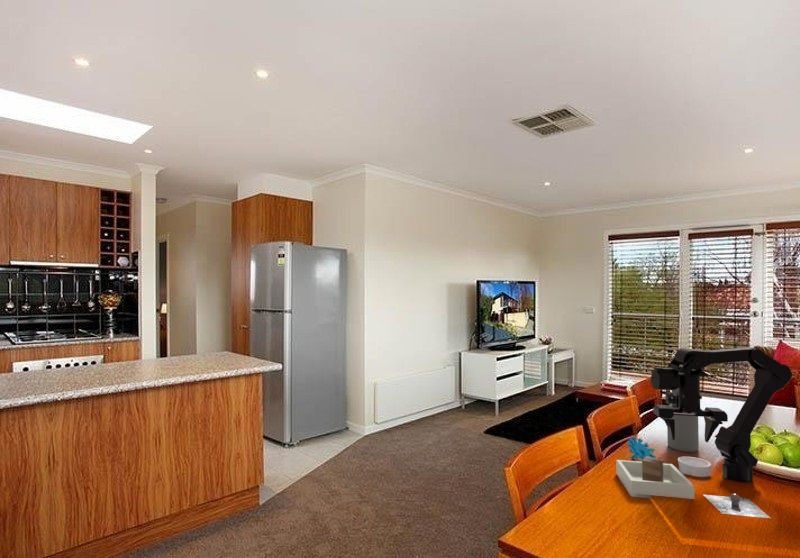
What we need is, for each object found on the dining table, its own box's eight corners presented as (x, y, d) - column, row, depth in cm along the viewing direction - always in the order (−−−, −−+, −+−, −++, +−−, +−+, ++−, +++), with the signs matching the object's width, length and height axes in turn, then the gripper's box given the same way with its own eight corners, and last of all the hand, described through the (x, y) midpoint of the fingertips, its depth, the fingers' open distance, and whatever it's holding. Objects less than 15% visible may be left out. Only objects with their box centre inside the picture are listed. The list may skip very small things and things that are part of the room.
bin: (672, 478, 139) (672, 464, 139) (694, 502, 123) (694, 486, 123) (616, 474, 142) (616, 459, 142) (631, 496, 127) (631, 480, 127)
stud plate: (747, 502, 124) (747, 487, 124) (771, 522, 113) (771, 505, 113) (703, 498, 126) (702, 483, 126) (722, 517, 115) (721, 501, 115)
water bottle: (668, 450, 164) (667, 373, 164) (664, 442, 173) (663, 369, 173) (701, 454, 160) (700, 375, 160) (695, 445, 169) (694, 371, 169)
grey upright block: (646, 479, 136) (646, 456, 136) (663, 483, 133) (663, 459, 133) (642, 484, 133) (642, 460, 133) (659, 488, 130) (659, 464, 130)
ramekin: (700, 483, 136) (700, 468, 136) (671, 472, 144) (671, 458, 144) (717, 477, 140) (717, 463, 140) (688, 467, 148) (687, 454, 148)
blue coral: (640, 463, 147) (624, 435, 154) (628, 471, 150) (613, 443, 157) (664, 464, 150) (648, 436, 157) (653, 472, 154) (637, 444, 161)
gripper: (710, 386, 144) (711, 434, 144) (647, 383, 148) (647, 430, 148) (728, 393, 133) (729, 446, 133) (659, 390, 137) (659, 441, 137)
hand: (689, 440), depth 138 cm, fingers open, 9 cm apart
